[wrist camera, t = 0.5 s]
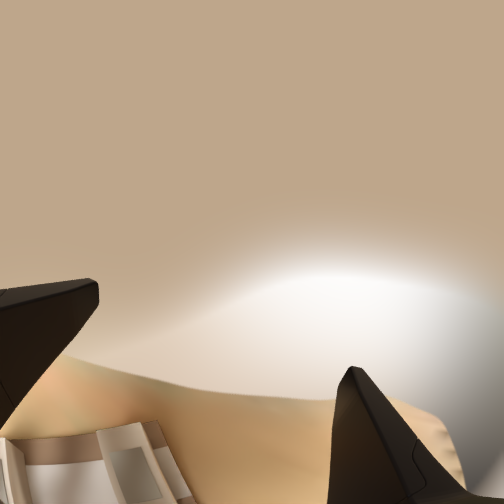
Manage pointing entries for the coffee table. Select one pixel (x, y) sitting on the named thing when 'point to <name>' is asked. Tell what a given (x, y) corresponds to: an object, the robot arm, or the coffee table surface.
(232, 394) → the coffee table surface
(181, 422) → the coffee table surface
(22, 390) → the robot arm
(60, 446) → the board
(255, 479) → the coffee table surface
